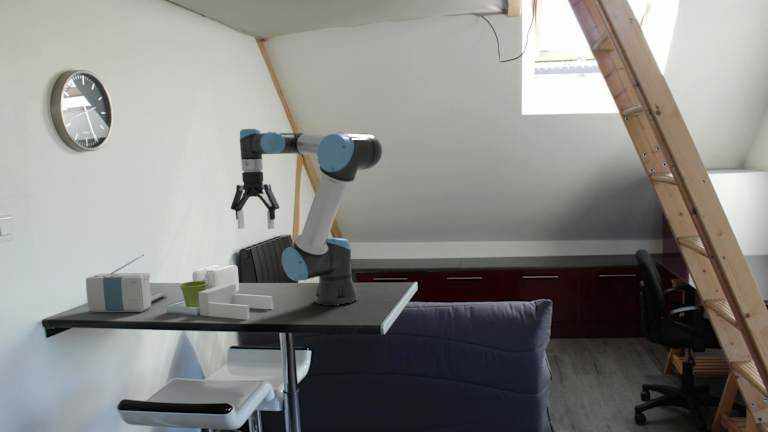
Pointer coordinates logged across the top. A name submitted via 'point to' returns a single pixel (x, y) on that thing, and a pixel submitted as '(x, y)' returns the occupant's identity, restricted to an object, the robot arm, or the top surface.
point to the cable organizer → (217, 276)
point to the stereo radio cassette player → (118, 292)
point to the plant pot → (192, 292)
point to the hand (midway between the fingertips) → (256, 228)
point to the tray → (183, 309)
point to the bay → (231, 302)
